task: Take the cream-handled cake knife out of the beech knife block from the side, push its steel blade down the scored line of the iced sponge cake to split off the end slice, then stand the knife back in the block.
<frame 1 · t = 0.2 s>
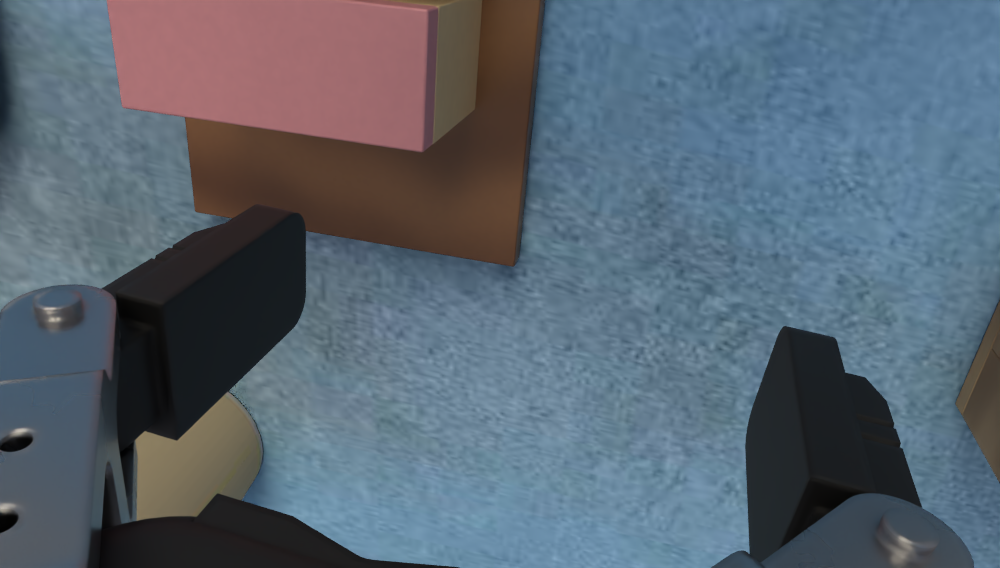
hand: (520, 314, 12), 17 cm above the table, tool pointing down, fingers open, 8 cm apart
cake slice: (346, 36, 27), point 1 cm above the table, touching cake
coffee cup: (198, 431, 39), on the table
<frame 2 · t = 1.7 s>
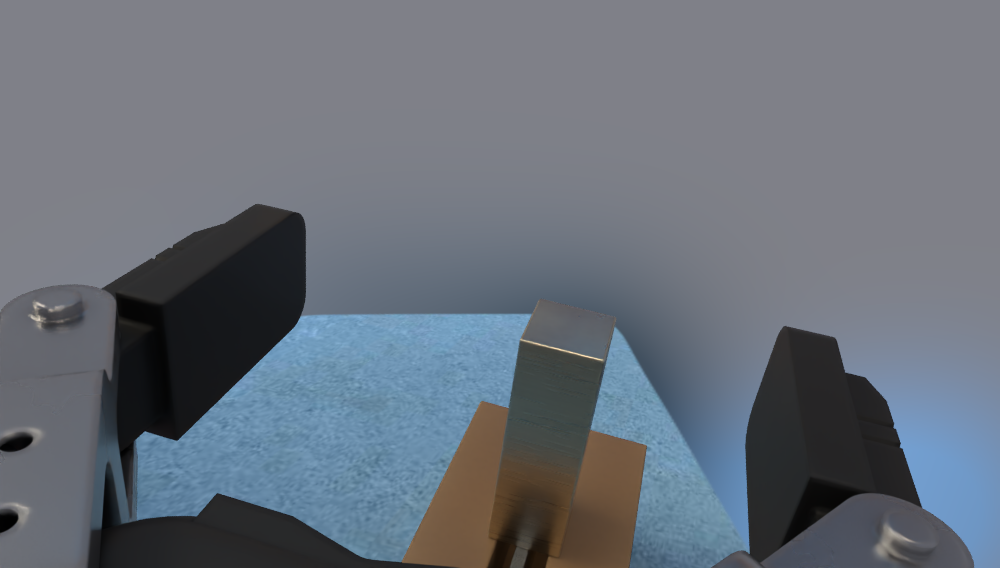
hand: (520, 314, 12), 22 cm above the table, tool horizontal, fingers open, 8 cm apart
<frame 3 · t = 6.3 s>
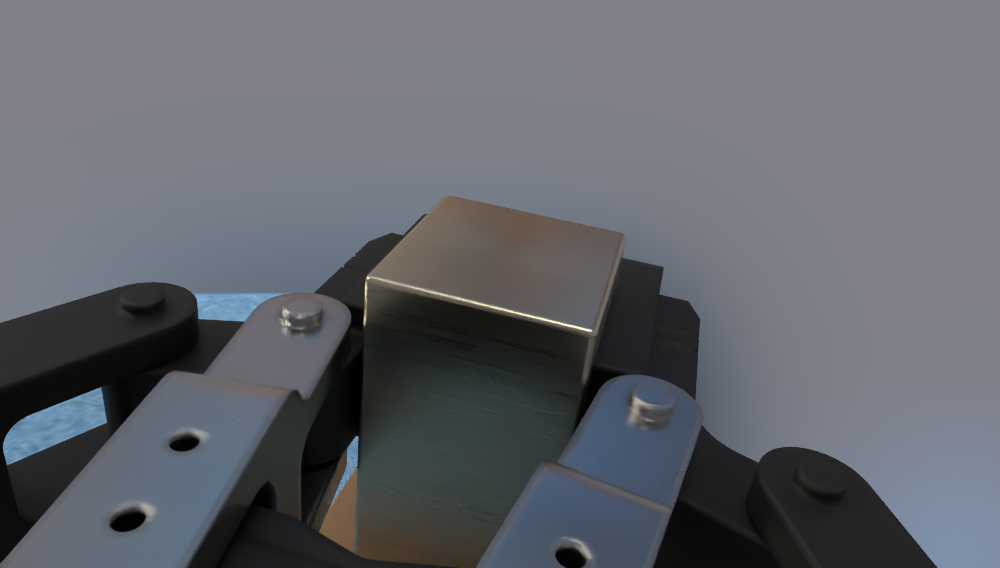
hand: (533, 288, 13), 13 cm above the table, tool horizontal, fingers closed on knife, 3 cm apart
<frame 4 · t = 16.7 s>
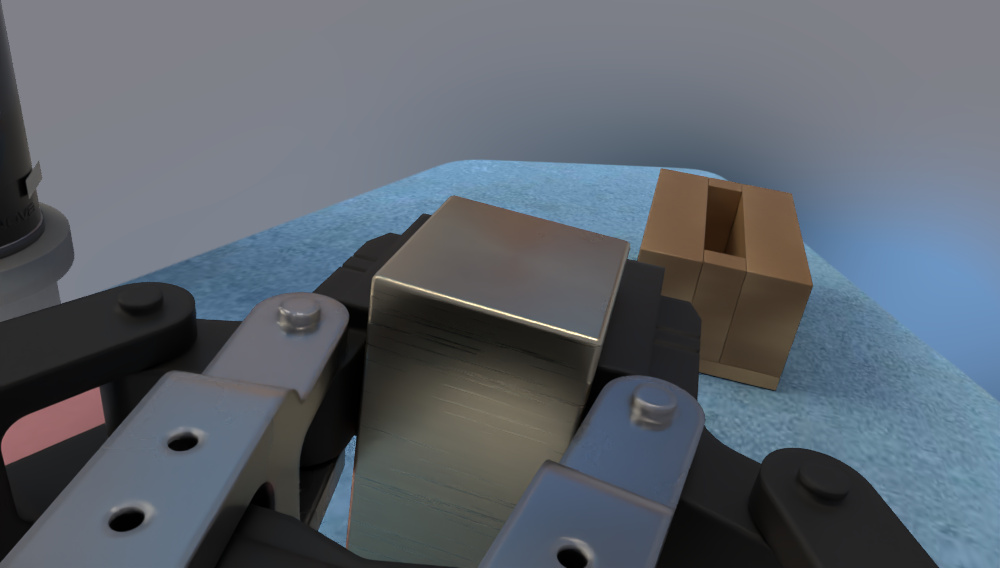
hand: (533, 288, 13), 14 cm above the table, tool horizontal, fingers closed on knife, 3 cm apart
knife block: (698, 312, 43), on the table
when the fingers open (13 cm above the table, at t = 26.6 s): knife stays where it is, resting on knife block.
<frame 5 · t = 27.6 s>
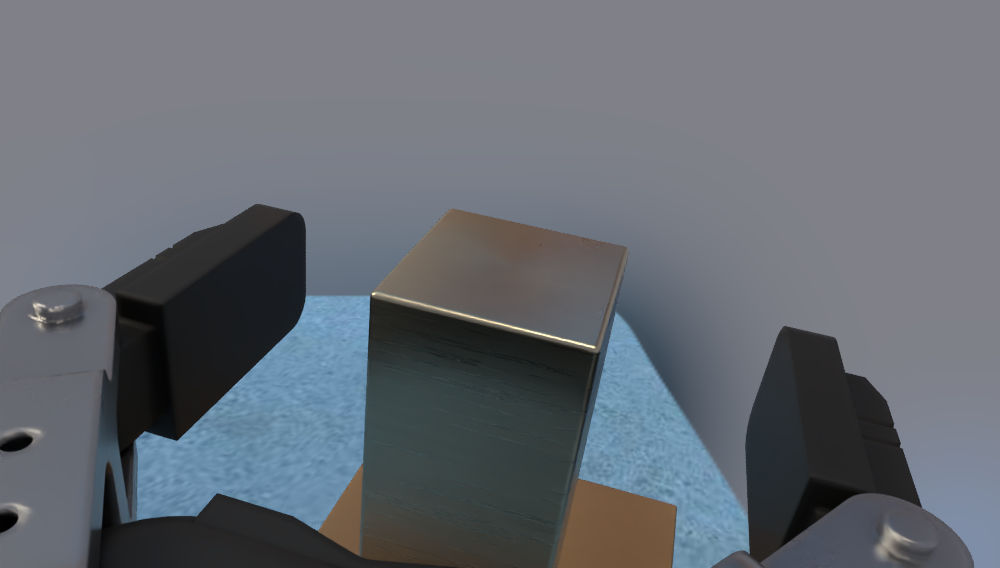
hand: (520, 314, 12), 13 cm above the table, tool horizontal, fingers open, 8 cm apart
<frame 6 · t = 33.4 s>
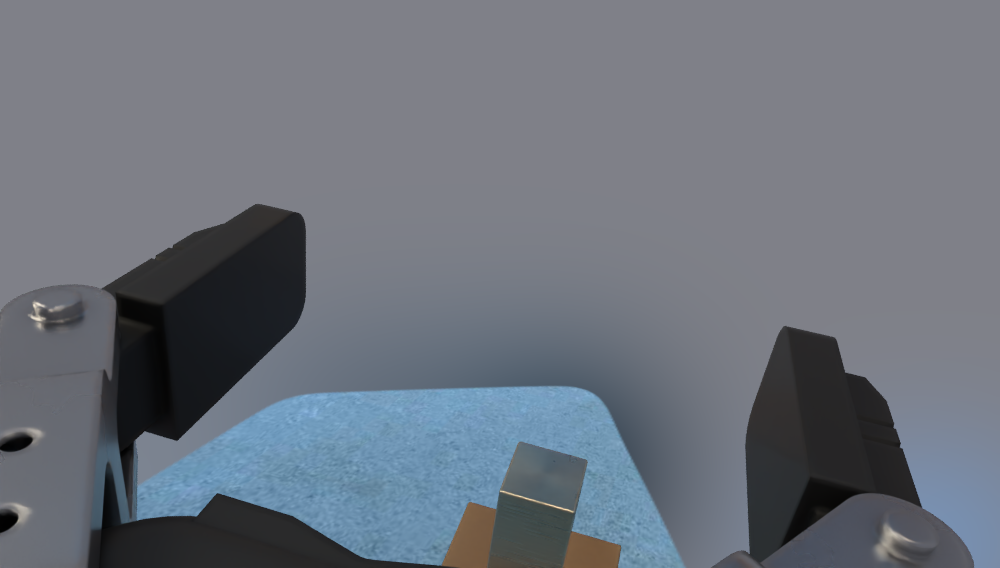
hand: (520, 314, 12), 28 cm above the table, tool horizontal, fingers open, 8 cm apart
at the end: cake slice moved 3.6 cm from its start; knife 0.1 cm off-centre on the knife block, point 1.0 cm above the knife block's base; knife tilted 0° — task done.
